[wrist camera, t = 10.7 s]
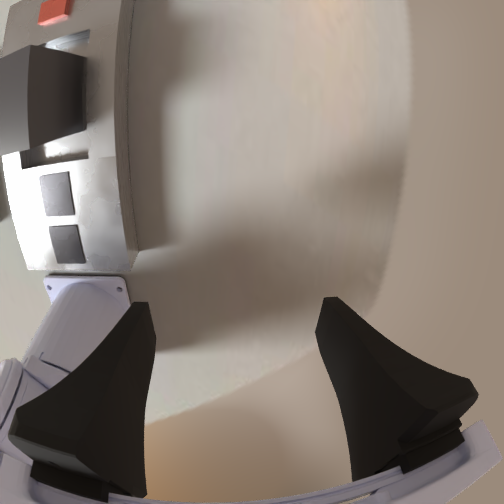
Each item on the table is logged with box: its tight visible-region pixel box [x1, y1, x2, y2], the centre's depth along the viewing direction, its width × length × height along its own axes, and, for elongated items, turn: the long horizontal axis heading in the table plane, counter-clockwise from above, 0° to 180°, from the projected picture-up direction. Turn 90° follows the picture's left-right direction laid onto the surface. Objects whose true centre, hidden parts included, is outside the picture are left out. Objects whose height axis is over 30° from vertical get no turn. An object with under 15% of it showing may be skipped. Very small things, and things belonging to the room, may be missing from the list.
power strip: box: [2, 0, 139, 271], centre depth 13 cm, size 20×9×3 cm, turn 177°
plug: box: [0, 45, 84, 157], centre depth 10 cm, size 5×4×6 cm
